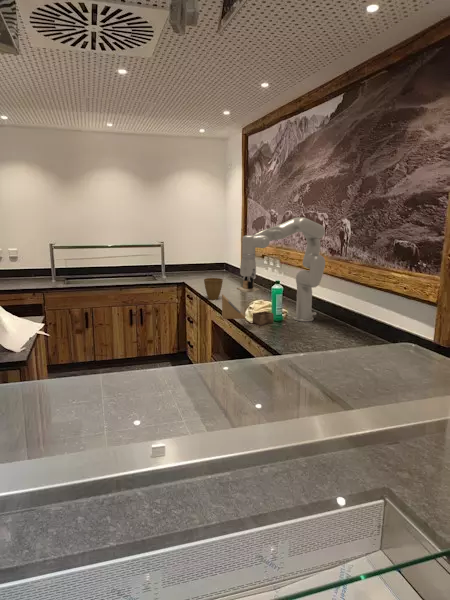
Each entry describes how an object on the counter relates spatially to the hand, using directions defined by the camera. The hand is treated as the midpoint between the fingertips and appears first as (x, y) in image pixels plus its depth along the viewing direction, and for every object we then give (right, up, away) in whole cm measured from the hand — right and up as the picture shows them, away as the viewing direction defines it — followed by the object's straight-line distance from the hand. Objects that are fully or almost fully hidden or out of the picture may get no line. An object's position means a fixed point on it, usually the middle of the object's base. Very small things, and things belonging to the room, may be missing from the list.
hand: (248, 287), depth 249 cm
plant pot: (-23, -7, +85) cm, 88 cm away
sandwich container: (-8, -19, +26) cm, 33 cm away
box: (+10, -22, +11) cm, 26 cm away
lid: (0, -1, 0) cm, 1 cm away
